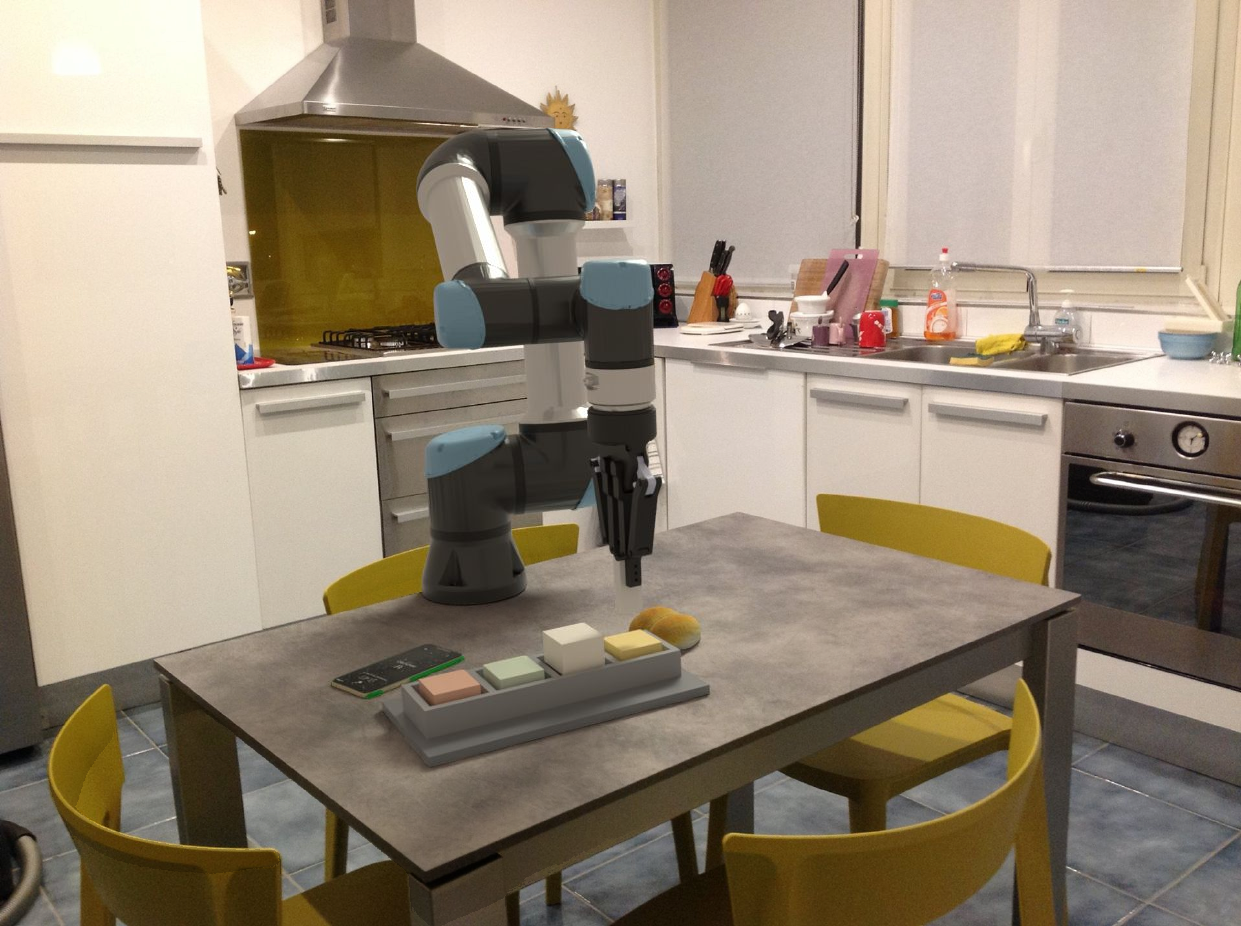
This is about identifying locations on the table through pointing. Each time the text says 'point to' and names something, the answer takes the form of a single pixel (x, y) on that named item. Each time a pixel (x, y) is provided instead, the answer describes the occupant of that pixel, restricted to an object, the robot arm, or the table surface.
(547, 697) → the grey compartment tray
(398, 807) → the table surface
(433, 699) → the key terracotta
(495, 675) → the key sage
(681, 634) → the bread roll
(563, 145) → the robot arm
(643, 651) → the key mustard
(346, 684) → the smartphone
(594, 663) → the key ivory
